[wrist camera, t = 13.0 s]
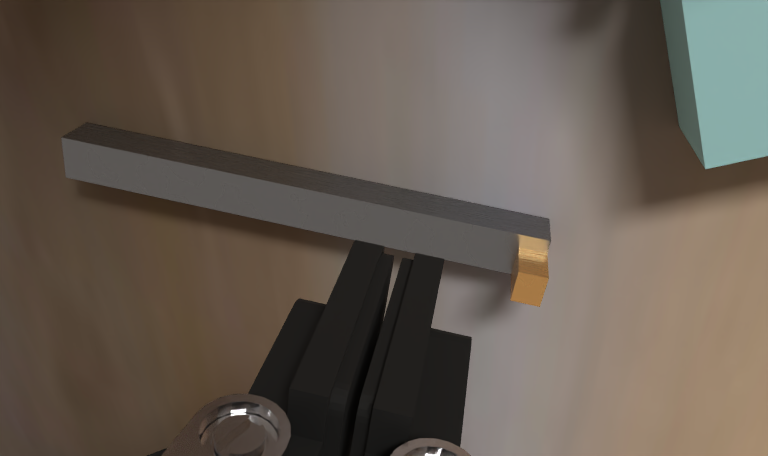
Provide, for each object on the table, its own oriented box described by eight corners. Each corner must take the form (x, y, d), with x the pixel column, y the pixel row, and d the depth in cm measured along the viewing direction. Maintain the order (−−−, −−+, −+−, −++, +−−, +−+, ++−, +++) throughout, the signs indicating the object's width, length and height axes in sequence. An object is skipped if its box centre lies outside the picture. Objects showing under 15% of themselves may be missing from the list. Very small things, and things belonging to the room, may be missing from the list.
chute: (56, -201, 25) (-19, -213, 21) (647, -107, 23) (669, -102, 19) (90, 160, 32) (38, 195, 29) (537, 256, 30) (539, 306, 27)
